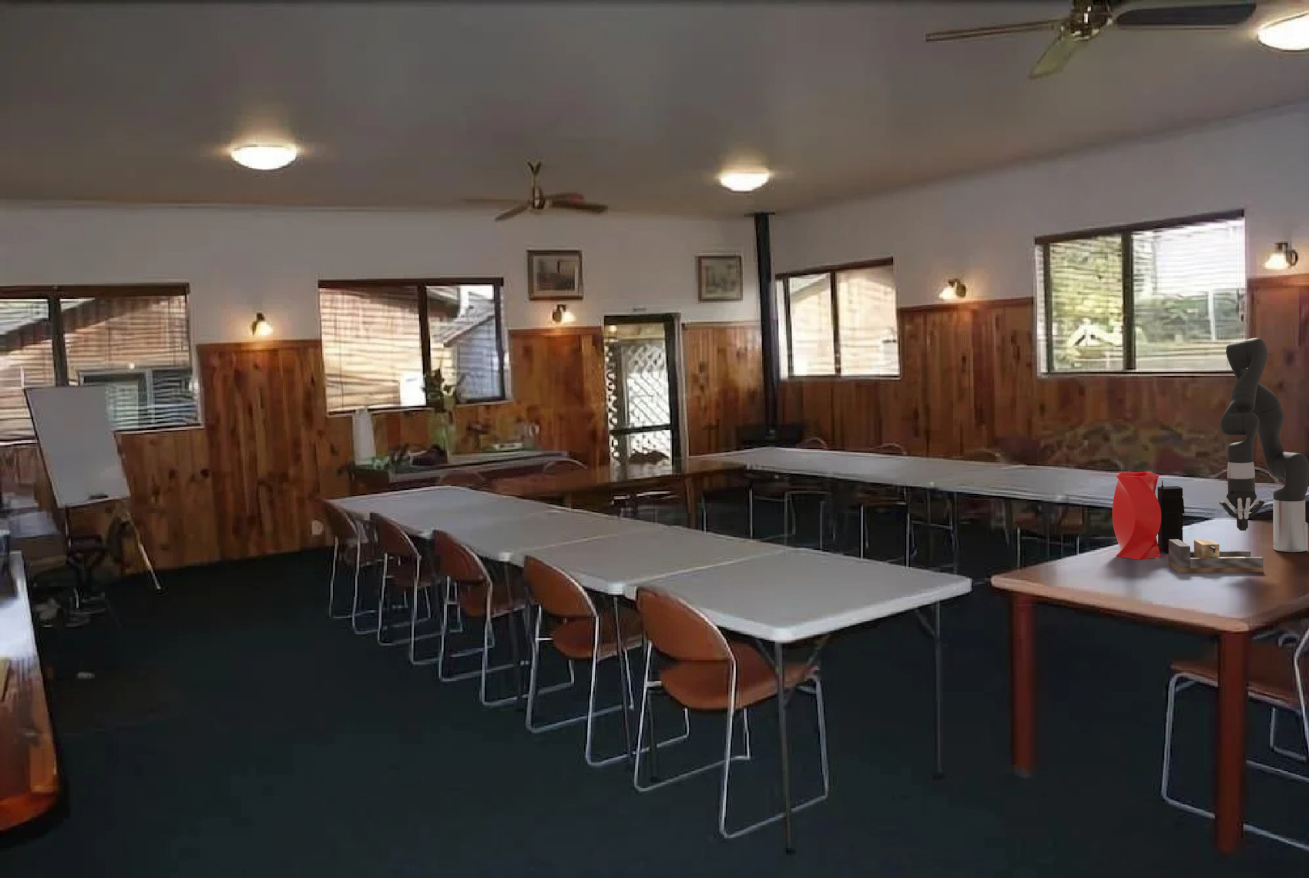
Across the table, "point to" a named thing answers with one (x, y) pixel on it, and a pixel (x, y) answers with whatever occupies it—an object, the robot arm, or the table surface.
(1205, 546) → the block
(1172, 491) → the portable radio
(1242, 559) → the grey piece
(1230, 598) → the table surface
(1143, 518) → the vase
